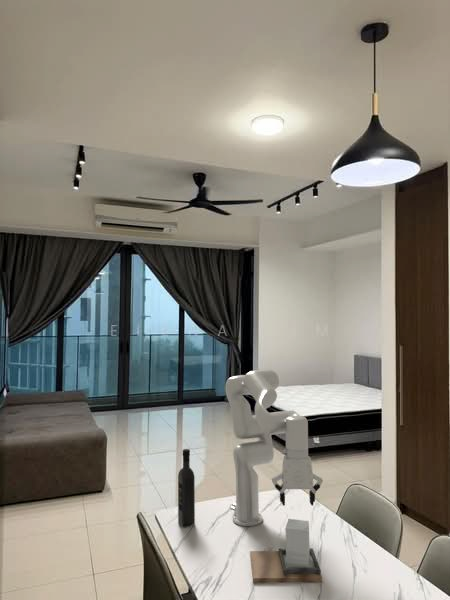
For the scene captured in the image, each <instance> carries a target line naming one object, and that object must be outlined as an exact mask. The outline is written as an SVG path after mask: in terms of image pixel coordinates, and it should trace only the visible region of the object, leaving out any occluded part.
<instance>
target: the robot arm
mask: <svg viewBox="0 0 450 600" xmlns="http://www.w3.org/2000/svg"><path fill="white" fill-rule="evenodd" d="M279 384H280V379H279V376H278V373H276V371H274V370H272V369H260V370H259V369H256V370H250V371H249V372H247V373H245V374H240V375H234V376H231V377H229V378H228V379H227V380H226V383H225V388H224V389H225V395H226V398H227V400H228V403H229V406H230V411H231V412H230V414H231V419H232V420H231V421H232V428H233V433H234V436H235V438H236V439H237V440H240V441H241V440H242V441H243V440H249V439H250V440H251V439H257V441H248V442H243V443H242V442H241V443H239V444H236V446H235V447H234V449H233V451H232V453H233V454H232V456H233V461H234V468H235V469H234V470H235V502H233V503H232V504H231V506H230V508H229V509H230V510H231V511H234V512H233V513H234V514H232V521H233V523H235V524H236V525H238V526H243V527H254V526H257V525H260V524H261V523H262V521H263V515H262V514H261V513H260V511H259V509H260V505H259V503H260V502H259V501H260V500H259V498H260V497H259V475H258V473H257V472H256V470H255V469H254V467H255V466H259V465H266V464H269V463H271V462H272V461H273V459H274V454H275V453H274V446H273V445H274V444H273V439H272V435H279V434H285V448H284V449H281V454H282V455H284V456H283V461H282V468H281V469H282V470H281V471H282V472H281V473H279V474H278V475H275V476H273V477H271V481H272V484H273V486H274V488H275V489H276V490H277V491H278V492H279V502H280V503H282V507H283V506H284V507H285V505H286V494H285V492H286V490H309V504H310V506H314V503H315V502H316V493H317V491H318V490H319V489H320V488H321V486H322V484H323V481H324V480H323V478H322V477H320V476H318V475H316V474H314V473H313V465H312V464H313V463H312V459H311V457H310V456H309V427H308V426H309V423H308V419H307V418H306V417H305V416H304V415H300V414H299V413H297V412H296V411H294V410H284V411H283V410H282V411H274V412H269V411H268V410H267V409H268V408H270V407H271V406H272V405H274V404H275V401H277V397H278V393H277V389H278V387H279ZM249 395H251V397H253V399H254V401H255V405H254V415H252V411H251V404H250V403H249V400H247V399H246V398H245V397H244V396H249ZM280 480H281V481H282V483H281V485H280V484H278V481H280ZM314 481H316V483H315V484H314Z"/></svg>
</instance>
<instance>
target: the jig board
mask: <svg viewBox="0 0 450 600" xmlns="http://www.w3.org/2000/svg"><path fill="white" fill-rule="evenodd" d="M309 548H310V560H309V567H304V568H294V567H287V561H286V548H285V549H282V548H278V550H250V551H249V558H250V566H251V567H250V568H251V575H252V584H287V583H288V584H294V583H295V584H296V583H297V584H299V583H300V584H301V583H303V584H304V583H306V584H308V583H318V584H319V583H323V577H322V574H321V573H322V569H321V567H320V565H319V562H318V559H317V556H316V554H315V551H314V549H313V548H311V547H309Z"/></svg>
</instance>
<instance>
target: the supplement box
mask: <svg viewBox="0 0 450 600" xmlns="http://www.w3.org/2000/svg"><path fill="white" fill-rule="evenodd" d="M309 522H310V521H309V520H303V519H295V518H294V519H292V518H288V519H287V522H286V526H285V529H284V530H285V549H286V561H287V567H294V568H304V567H309V560H310V548H311V547H310V524H309Z"/></svg>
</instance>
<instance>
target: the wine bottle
mask: <svg viewBox="0 0 450 600" xmlns="http://www.w3.org/2000/svg"><path fill="white" fill-rule="evenodd" d="M190 455H191V450H190V449H188V448H184V449H182V467H181V469H179V471H178V475H177V504H178V505H177V521H178V522H177V523H178V524H179V525H180V526H181V527H183V528H187V526H188V527H190V526H191V525H192V526H195V525H196V523H195V522H196V515H195V514H196V513H195V511H196V509H195V507H196V506H195V503H196V502H195V501H196V499H195V498H196V497H195V496H196V495H195V493H196V490H195V485H196V483H195V482H196V481H195V479H196V478H195V473H194V472H195V471H193V469H192V468H191V466H190V465H191V464H190V458H191V457H190Z"/></svg>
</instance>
